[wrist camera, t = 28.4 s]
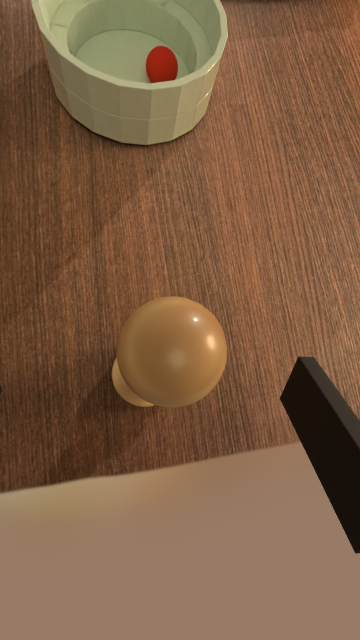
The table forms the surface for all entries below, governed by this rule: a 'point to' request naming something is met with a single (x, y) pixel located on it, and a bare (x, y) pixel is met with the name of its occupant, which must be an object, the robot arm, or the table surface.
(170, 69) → the tomato
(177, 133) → the bowl
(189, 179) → the table surface
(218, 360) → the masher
